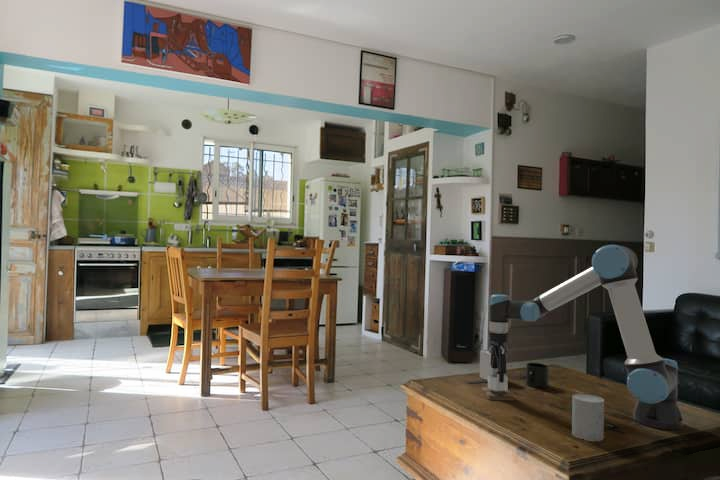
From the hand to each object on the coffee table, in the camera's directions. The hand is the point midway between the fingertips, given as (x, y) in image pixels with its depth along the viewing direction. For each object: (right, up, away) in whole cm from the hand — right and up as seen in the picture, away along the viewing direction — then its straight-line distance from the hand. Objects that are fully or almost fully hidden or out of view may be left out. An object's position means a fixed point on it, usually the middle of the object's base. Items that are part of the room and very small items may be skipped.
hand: (497, 386), depth 194 cm
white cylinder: (+17, -3, -41) cm, 45 cm away
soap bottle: (+5, -5, +26) cm, 27 cm away
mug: (+22, -5, +17) cm, 28 cm away
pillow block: (0, -4, 0) cm, 4 cm away
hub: (0, -1, 0) cm, 1 cm away
